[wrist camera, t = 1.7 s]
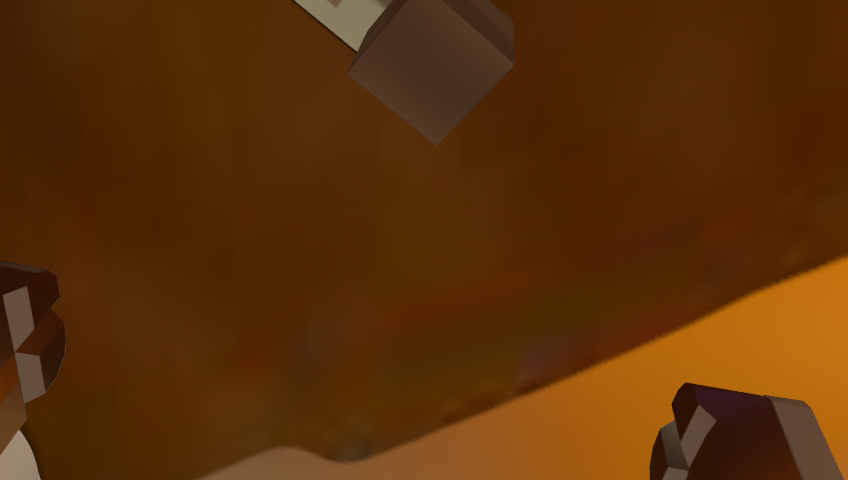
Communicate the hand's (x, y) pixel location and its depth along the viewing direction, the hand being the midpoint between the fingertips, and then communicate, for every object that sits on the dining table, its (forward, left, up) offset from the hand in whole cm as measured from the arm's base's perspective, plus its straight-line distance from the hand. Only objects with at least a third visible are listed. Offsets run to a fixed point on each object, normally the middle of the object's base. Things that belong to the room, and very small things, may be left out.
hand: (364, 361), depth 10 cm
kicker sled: (0, +1, -22) cm, 22 cm away
